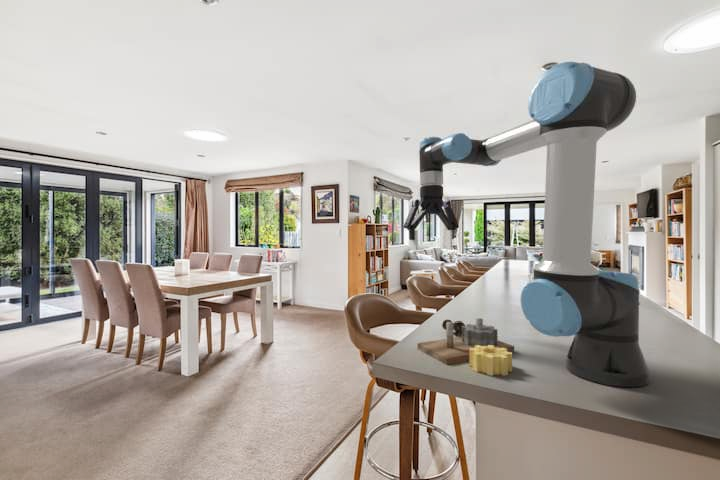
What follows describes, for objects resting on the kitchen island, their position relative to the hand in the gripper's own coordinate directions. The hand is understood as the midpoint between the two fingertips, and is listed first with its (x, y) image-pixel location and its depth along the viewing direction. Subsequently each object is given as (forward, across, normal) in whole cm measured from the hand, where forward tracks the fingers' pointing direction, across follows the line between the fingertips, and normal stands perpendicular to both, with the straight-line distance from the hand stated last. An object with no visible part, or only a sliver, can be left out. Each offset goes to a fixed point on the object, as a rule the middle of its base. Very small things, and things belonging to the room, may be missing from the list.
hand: (432, 250), depth 115 cm
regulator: (+27, -6, +8) cm, 29 cm away
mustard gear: (+27, +7, +33) cm, 43 cm away
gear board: (+27, +4, +21) cm, 34 cm away
